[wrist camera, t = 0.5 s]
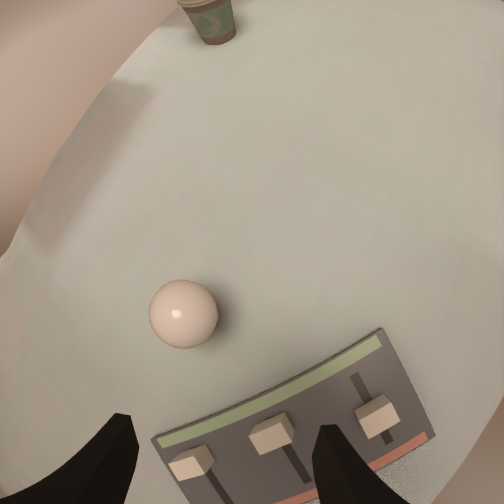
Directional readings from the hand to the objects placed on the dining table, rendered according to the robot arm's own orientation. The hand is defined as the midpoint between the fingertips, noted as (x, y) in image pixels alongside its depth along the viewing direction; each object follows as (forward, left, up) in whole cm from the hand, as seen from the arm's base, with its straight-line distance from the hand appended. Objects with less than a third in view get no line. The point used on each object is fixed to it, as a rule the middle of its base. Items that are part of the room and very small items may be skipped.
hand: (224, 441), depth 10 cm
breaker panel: (-9, +4, -24) cm, 26 cm away
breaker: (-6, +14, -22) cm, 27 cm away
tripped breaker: (-9, -6, -22) cm, 25 cm away
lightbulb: (+9, +5, -24) cm, 26 cm away
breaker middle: (-6, +4, -22) cm, 23 cm away
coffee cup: (+50, -16, -24) cm, 57 cm away
